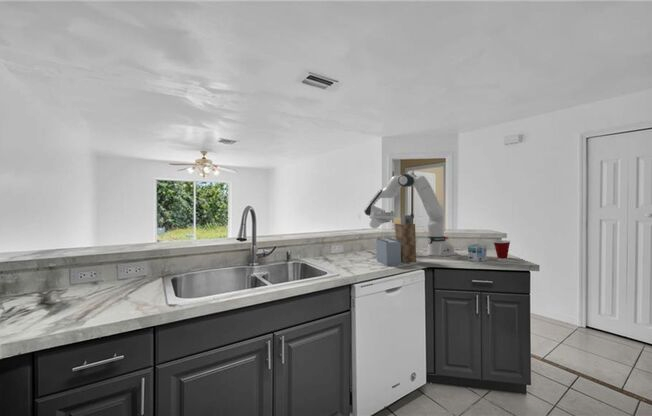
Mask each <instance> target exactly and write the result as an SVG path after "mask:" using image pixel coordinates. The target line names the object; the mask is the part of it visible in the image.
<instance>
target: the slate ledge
mask: <svg viewBox="0 0 652 416" xmlns="http://www.w3.org/2000/svg"><path fill="white" fill-rule="evenodd" d="M375 243H376V244H375V245H376V261H377V262H379V263H381V264H383V265H384V266H398V265H399V266H400V265H402V263H401V244H400V240H396V238H392V237H387V238H376V239H375Z"/></svg>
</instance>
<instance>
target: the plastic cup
mask: <svg viewBox="0 0 652 416" xmlns="http://www.w3.org/2000/svg"><path fill="white" fill-rule="evenodd" d="M492 243H493V245H494V249H495V252H496V257H497V258H498V259H508V255H509V250H510V243H511V240H509V239H508V240H506V239H505V240H504V239H503V240H494V241H492Z"/></svg>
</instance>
